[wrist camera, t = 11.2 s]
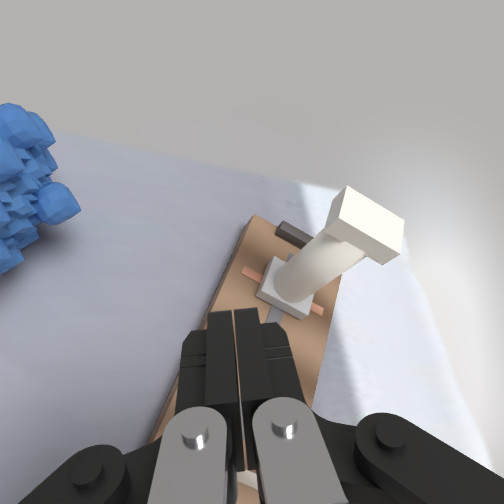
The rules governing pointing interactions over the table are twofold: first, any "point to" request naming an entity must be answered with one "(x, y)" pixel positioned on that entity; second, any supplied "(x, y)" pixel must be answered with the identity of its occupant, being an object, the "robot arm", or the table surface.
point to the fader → (332, 252)
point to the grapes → (27, 183)
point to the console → (267, 318)
